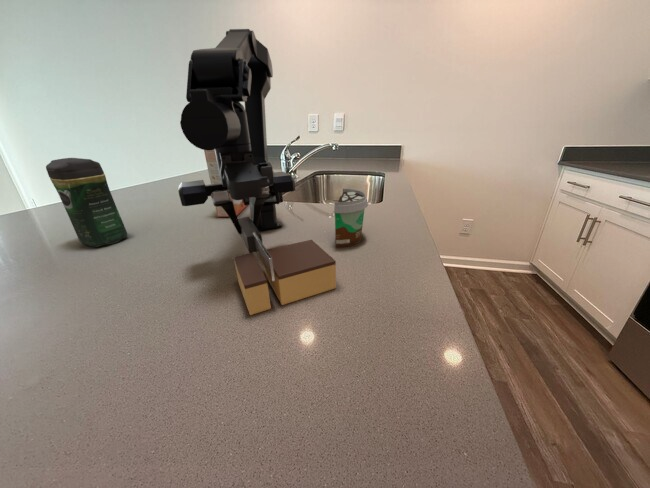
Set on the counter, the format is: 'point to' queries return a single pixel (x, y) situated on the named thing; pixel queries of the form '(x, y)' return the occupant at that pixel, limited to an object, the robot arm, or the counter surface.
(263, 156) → the robot arm
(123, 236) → the coffee jar
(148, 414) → the counter surface
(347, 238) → the food container
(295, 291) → the cake
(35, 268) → the counter surface
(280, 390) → the counter surface
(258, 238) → the knife
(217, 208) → the cracker box
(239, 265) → the cake slice
